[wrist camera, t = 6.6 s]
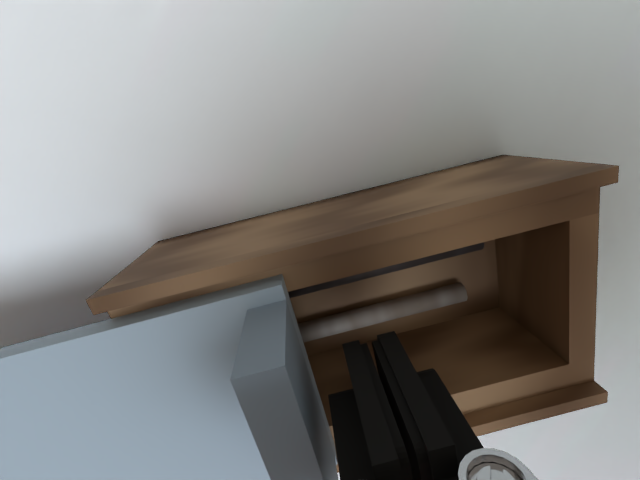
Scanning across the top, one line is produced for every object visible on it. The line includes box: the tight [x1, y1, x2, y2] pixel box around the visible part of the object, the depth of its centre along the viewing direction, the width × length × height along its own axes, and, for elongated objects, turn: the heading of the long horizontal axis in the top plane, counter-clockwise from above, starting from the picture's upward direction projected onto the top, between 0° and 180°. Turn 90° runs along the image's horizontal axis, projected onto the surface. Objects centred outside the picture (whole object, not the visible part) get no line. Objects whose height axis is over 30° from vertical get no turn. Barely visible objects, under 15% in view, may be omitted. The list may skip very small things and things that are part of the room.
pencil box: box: [86, 155, 619, 473], centre depth 14 cm, size 16×9×6 cm, turn 103°
